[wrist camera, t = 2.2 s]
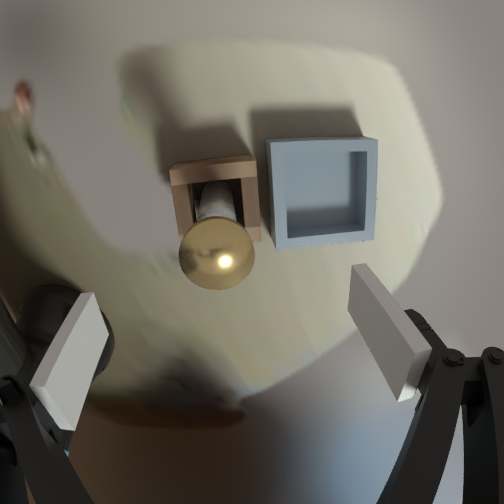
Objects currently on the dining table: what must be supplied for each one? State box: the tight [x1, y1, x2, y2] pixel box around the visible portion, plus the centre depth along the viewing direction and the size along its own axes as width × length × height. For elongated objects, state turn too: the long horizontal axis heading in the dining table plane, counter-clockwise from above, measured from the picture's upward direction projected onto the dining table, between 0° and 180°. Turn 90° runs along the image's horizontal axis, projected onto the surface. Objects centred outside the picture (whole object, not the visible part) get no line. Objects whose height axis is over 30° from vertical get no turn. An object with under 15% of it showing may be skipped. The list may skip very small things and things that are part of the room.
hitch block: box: [169, 155, 262, 243], centre depth 32 cm, size 8×8×4 cm
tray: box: [265, 136, 378, 250], centre depth 33 cm, size 11×11×4 cm
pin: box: [179, 181, 255, 290], centre depth 27 cm, size 5×5×15 cm
